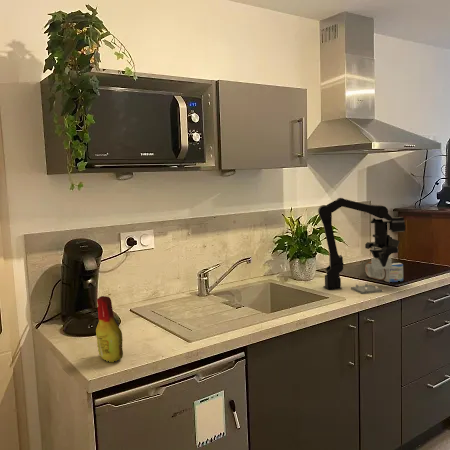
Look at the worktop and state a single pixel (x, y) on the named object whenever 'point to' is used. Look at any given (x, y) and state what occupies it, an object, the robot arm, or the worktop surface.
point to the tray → (366, 289)
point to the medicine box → (394, 273)
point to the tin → (374, 272)
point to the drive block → (380, 263)
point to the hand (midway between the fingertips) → (381, 265)
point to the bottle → (108, 332)
